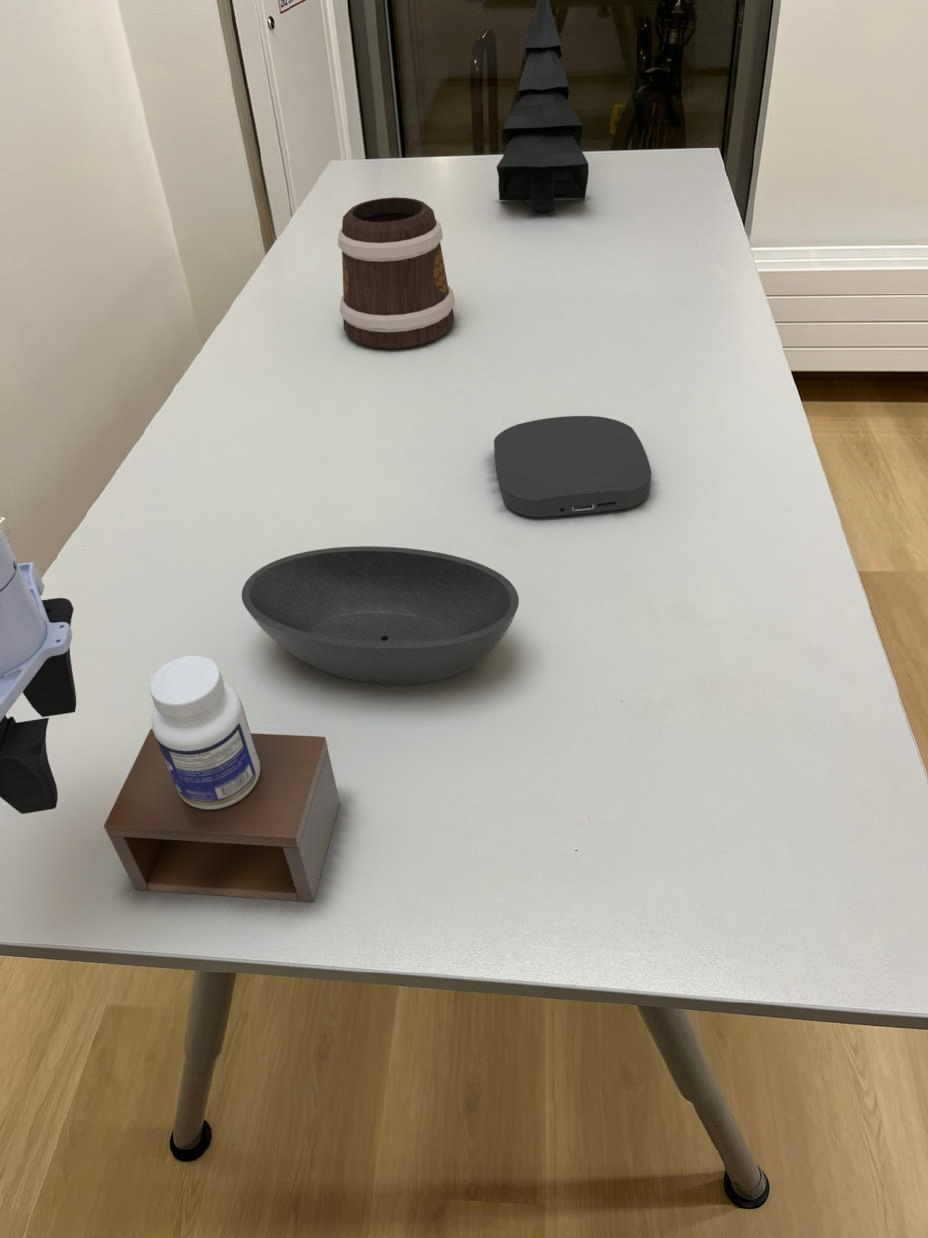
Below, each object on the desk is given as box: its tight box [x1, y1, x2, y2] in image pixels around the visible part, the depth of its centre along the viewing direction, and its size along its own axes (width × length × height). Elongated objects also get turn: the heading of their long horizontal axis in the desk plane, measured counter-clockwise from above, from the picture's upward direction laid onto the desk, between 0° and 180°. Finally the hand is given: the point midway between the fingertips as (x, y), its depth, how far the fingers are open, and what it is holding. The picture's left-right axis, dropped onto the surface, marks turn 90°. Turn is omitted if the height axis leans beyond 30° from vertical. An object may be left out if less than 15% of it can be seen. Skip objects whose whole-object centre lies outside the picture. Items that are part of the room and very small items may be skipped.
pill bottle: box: [149, 655, 260, 809], centre depth 57 cm, size 5×5×9 cm
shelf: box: [103, 728, 341, 903], centre depth 62 cm, size 12×8×7 cm, turn 84°
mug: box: [337, 196, 456, 350], centre depth 123 cm, size 20×15×15 cm
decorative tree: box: [496, 0, 590, 214], centre depth 153 cm, size 15×15×35 cm
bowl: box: [241, 545, 520, 685], centre depth 76 cm, size 12×22×6 cm, turn 79°
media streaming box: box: [493, 415, 652, 518], centre depth 95 cm, size 15×15×3 cm
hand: (49, 756), depth 57 cm, fingers open, 7 cm apart
